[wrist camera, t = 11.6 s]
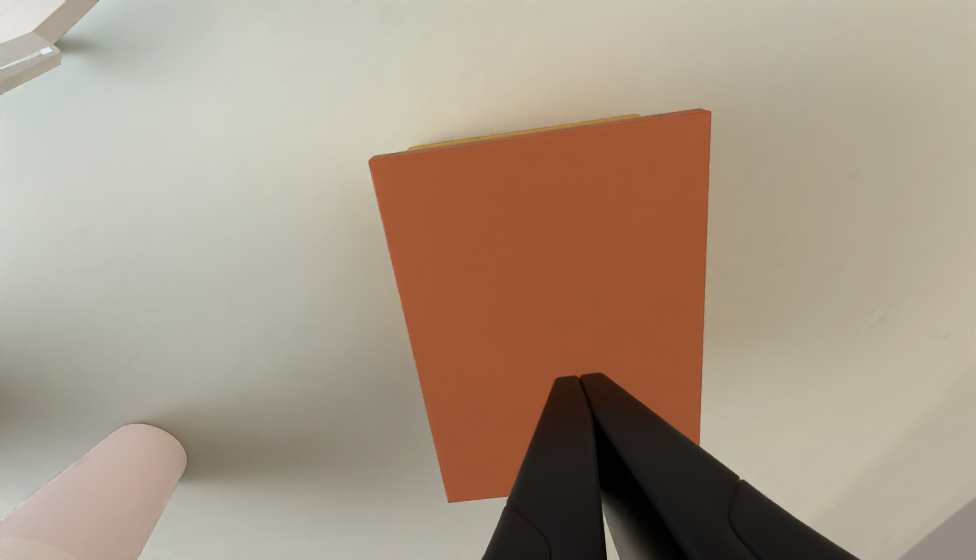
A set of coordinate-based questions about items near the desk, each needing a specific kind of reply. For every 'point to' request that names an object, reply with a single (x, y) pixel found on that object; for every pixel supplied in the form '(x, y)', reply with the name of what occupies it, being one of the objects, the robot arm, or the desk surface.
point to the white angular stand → (34, 35)
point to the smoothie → (99, 501)
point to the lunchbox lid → (548, 278)
